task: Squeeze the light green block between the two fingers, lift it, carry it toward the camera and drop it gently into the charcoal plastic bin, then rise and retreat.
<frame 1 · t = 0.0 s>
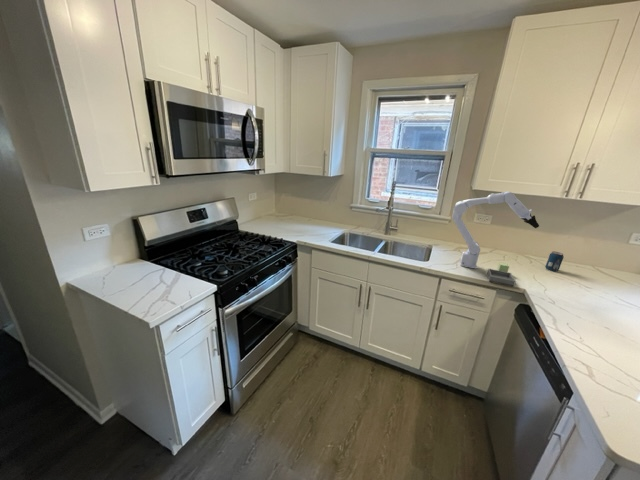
hand: (535, 225, 155), 32 cm above the worktop, fingers open, 7 cm apart
light green block: (501, 272, 167), on the worktop
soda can: (551, 270, 176), on the worktop
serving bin: (499, 279, 158), on the worktop
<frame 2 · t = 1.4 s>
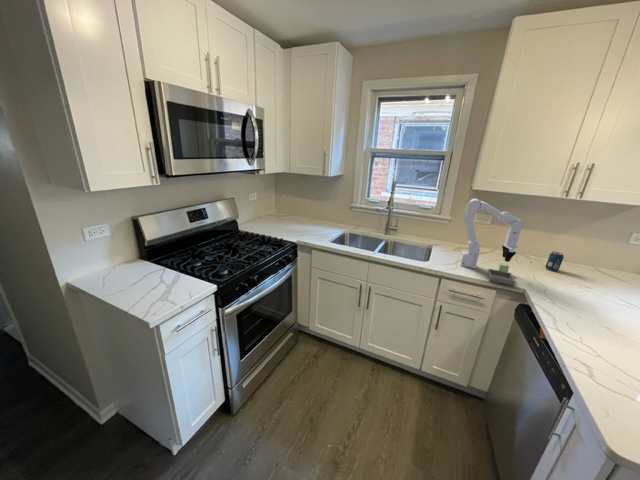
hand: (505, 259, 164), 9 cm above the worktop, fingers open, 7 cm apart
nothing on the worktop moved.
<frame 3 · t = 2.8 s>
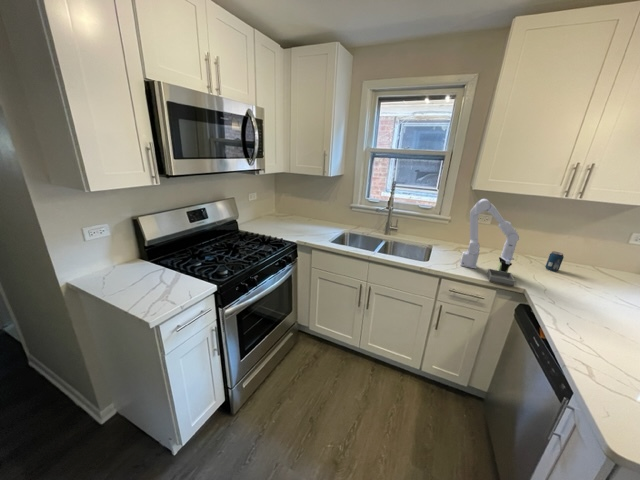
hand: (502, 270, 167), 2 cm above the worktop, fingers closed on light green block, 5 cm apart
light green block: (501, 272, 167), on the worktop, touching gripper
everything else where it was.
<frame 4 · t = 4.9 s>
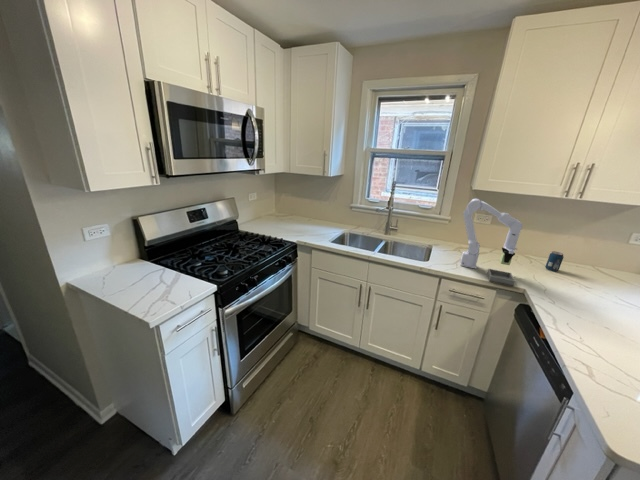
hand: (505, 260, 164), 8 cm above the worktop, fingers closed on light green block, 5 cm apart
light green block: (504, 263, 165), point 7 cm above the worktop, touching gripper
everything else where it was.
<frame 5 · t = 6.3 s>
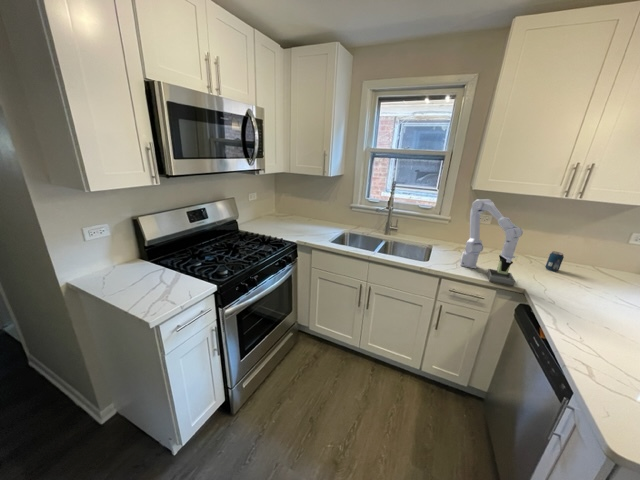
hand: (502, 269, 155), 7 cm above the worktop, fingers closed on light green block, 5 cm apart
light green block: (501, 272, 156), point 5 cm above the worktop, touching gripper
everything else where it was.
when the fingers open (4 cm above the worktop, at t = 7.3 s): light green block drops 2 cm, resting on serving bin.
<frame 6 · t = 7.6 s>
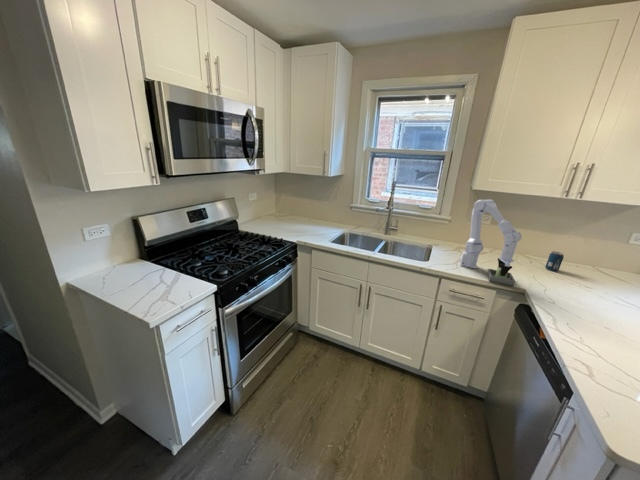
hand: (501, 273, 156), 4 cm above the worktop, fingers open, 7 cm apart
light green block: (500, 278, 157), point 1 cm above the worktop, touching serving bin
everything else where it was.
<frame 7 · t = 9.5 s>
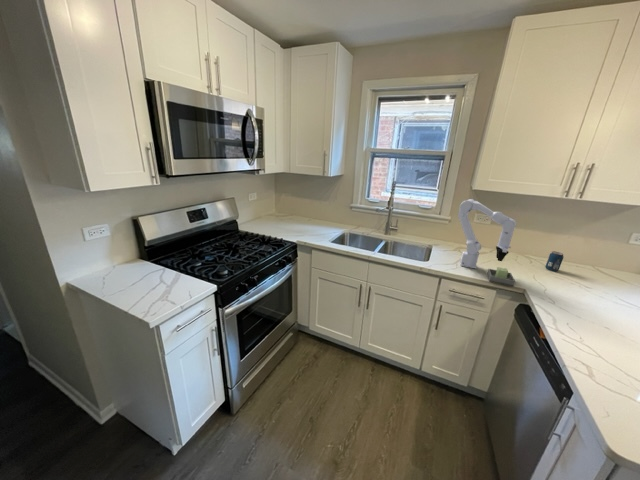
hand: (499, 259, 163), 9 cm above the worktop, fingers open, 4 cm apart
nothing on the worktop moved.
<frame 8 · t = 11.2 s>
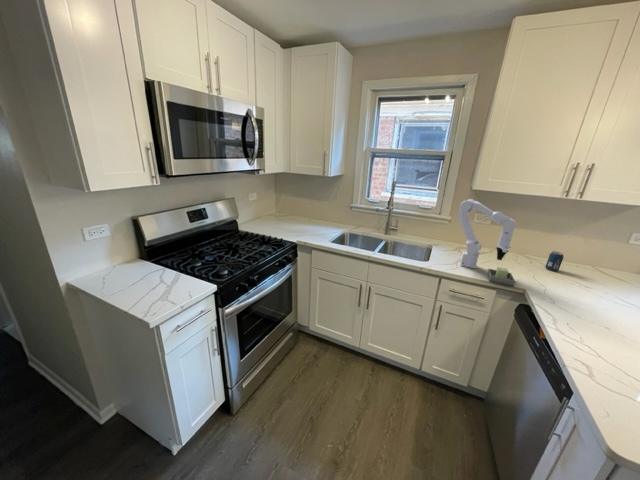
hand: (499, 259, 163), 9 cm above the worktop, fingers closed
nothing on the worktop moved.
at the end: light green block inside the target area on the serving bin (0.1 cm from its centre), point 1.0 cm above the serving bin's base; light green block tilted 0°; the gripper is holding nothing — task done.
